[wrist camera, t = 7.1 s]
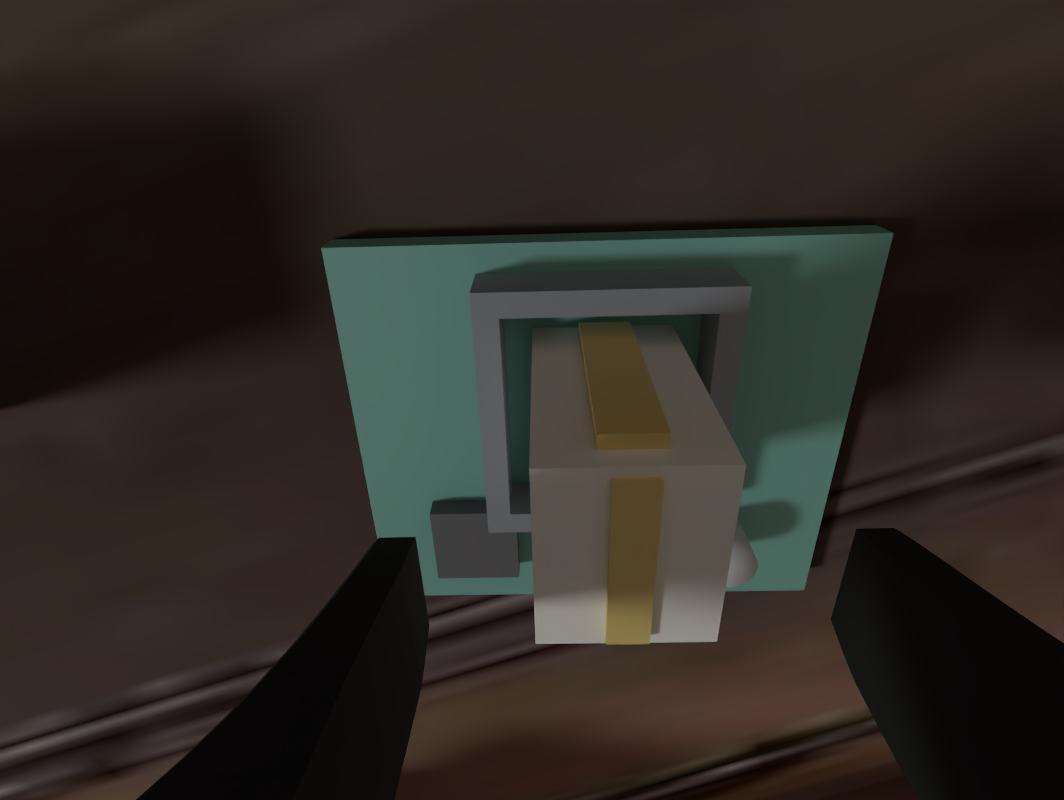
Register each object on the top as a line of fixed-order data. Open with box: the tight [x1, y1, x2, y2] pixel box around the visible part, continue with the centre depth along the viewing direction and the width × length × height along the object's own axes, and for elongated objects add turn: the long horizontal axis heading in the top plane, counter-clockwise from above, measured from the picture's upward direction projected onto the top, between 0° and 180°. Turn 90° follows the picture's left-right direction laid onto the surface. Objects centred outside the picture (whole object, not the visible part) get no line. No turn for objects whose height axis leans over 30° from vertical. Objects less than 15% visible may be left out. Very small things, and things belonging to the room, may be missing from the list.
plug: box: [529, 322, 746, 645], centre depth 13 cm, size 4×3×6 cm
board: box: [321, 225, 894, 595], centre depth 16 cm, size 11×13×2 cm
